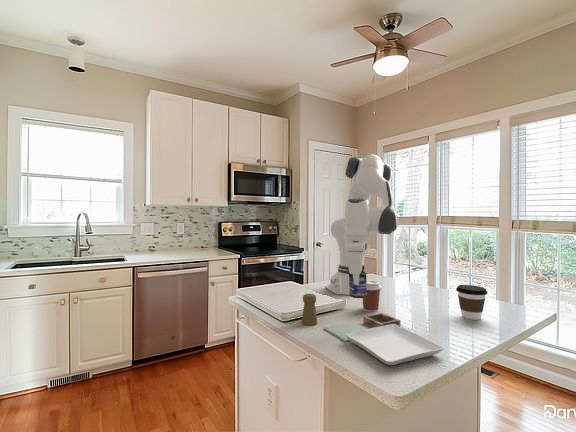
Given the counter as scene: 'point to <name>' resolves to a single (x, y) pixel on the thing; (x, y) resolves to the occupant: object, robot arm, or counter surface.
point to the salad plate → (393, 344)
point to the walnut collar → (373, 320)
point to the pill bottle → (360, 289)
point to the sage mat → (344, 329)
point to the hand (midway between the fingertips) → (357, 282)
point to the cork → (309, 310)
